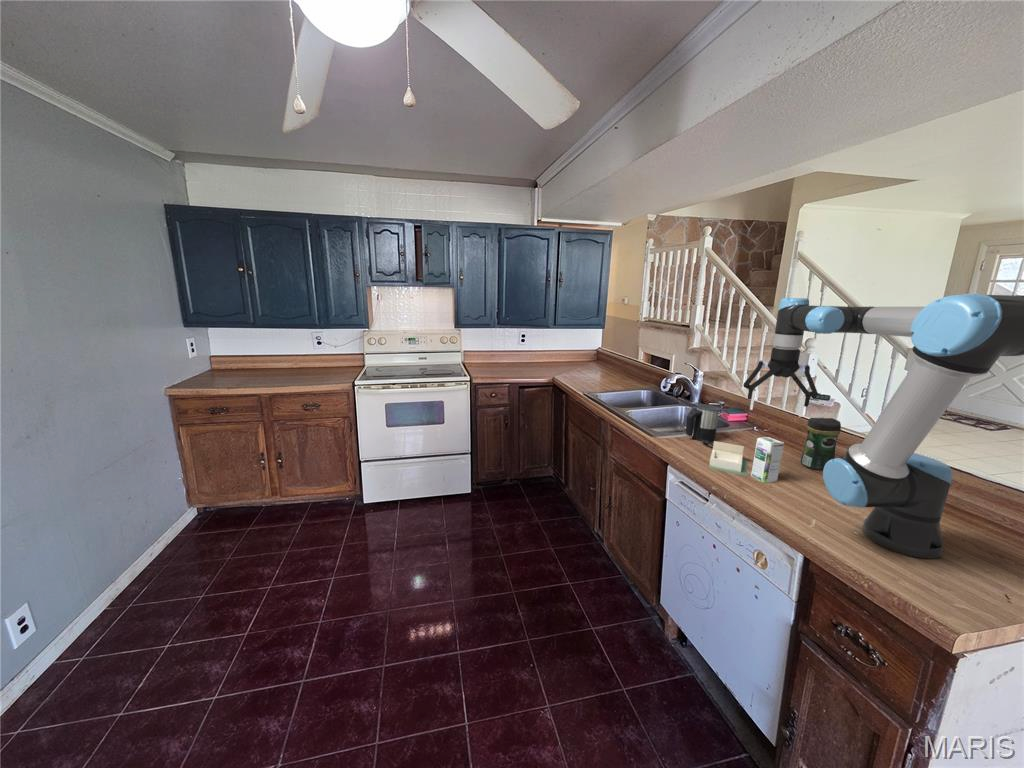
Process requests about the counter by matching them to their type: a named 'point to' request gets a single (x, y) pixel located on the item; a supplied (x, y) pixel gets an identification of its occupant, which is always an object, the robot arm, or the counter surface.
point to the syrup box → (767, 459)
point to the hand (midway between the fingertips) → (775, 412)
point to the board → (743, 471)
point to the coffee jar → (820, 442)
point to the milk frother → (703, 423)
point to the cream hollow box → (726, 456)
